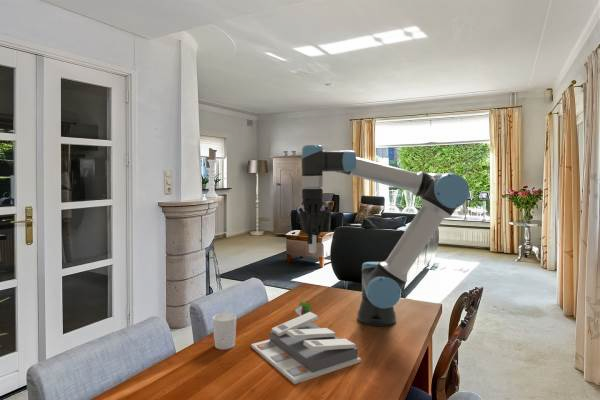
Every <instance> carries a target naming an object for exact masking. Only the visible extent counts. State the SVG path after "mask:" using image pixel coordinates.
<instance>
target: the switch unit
mask: <svg viewBox="0 0 600 400" xmlns="http://www.w3.org/2000/svg"><path fill="white" fill-rule="evenodd" d="M317 328H321V326H318V325H317V324H315V323H314V322H311V323H308V324H306V325H304V326H302V327H300V328H297V329H317ZM295 330H296V329H295ZM326 339H341V338H340V337H338V336H337V335H335V337H320V338H305V339H294V338H292V337H291V336H289V335H288V334H284V335H282V336H280V337H279V336H278V335H276V334H275V333H274V332H272V331H270V332H269V339H266V340H262V341H258V342H255V343H251V345H250V347H251V348H252V349H253V350H254V351H255V352H256V353H258V354H259V355H260V356H261V357H262V358H263V359H264V360H266V361H267V362H268V363H269V364H271V365H272V367H274V368H275V369H276V370H278V371H279V372H280V373H281V374H282V375H283V376H284V377H285V378H287V379H288V380H289V381H290V382H291V383H293V384H294V385H297V384H299V383H302V382H305V381H309V380H311V379H314V378H318V377H321V376H323V375H326V374H328V373H332V372H336V371H338V370H341V369H344V368H347V367H349V366H353V365H355V364H358V363H362V358H361V357H359V356H358V355H359V354H358V353H359V351H358V347H356V346H355V348H349V349H333V350H317V351H312V350H311V349H309V348H308V347H306V346H305V345H303V343H304V340H326Z"/></svg>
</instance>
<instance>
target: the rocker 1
mask: <svg viewBox="0 0 600 400" xmlns="http://www.w3.org/2000/svg"><path fill="white" fill-rule="evenodd" d="M317 320H319V316H318V315H317V314H315V313H313V312H312V311H309V312H308V313H306V314H304V315H301V316H299V317H298V316H297V317H295V318H293V319H290V320H287V321H285V322H283V323H281V324H279V325H276V326H274V327H272V328H271V332H274V333H275V334H276V335H278V336H279V337H280V336H282V335H284V334H286V333H287V330H295V329H297V328H300V327H302V326H304V325H306V324H308V323H311V322H312V323H314V322H315V321H317Z"/></svg>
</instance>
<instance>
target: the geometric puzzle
mask: <svg viewBox="0 0 600 400" xmlns="http://www.w3.org/2000/svg"><path fill="white" fill-rule="evenodd" d="M298 305H299V306H297V307H296V308H295V309H294V311H295V314H296V315H297V317H299V316H301V315H304V314H306V313H308V312H310V311H312V308H311V302H309V303H308V302H302V301H299V304H298ZM312 313H313V314H315V312H314V311H312Z"/></svg>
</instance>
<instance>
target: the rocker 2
mask: <svg viewBox="0 0 600 400" xmlns="http://www.w3.org/2000/svg"><path fill="white" fill-rule="evenodd" d="M286 334H288V335H289V336H291V337H292V338H294V339H305V338H320V337H335V336H336V332H335V331H333V330H332V329H329V328H327V327H320V328H317V329H296V330H287V333H286Z"/></svg>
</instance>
